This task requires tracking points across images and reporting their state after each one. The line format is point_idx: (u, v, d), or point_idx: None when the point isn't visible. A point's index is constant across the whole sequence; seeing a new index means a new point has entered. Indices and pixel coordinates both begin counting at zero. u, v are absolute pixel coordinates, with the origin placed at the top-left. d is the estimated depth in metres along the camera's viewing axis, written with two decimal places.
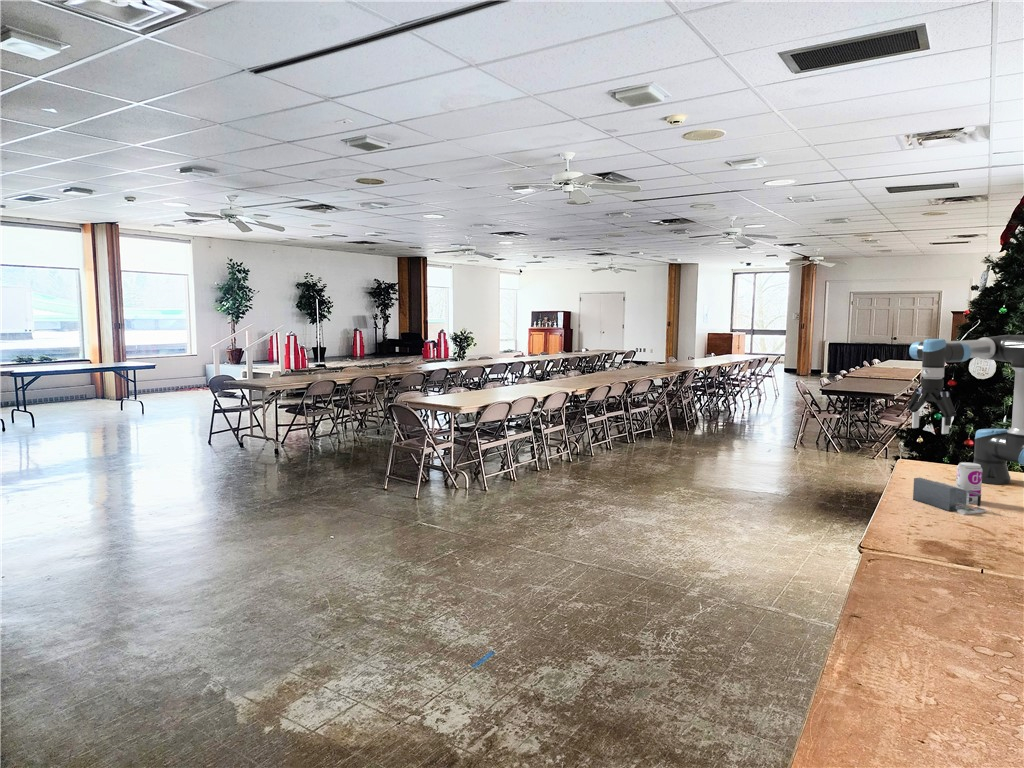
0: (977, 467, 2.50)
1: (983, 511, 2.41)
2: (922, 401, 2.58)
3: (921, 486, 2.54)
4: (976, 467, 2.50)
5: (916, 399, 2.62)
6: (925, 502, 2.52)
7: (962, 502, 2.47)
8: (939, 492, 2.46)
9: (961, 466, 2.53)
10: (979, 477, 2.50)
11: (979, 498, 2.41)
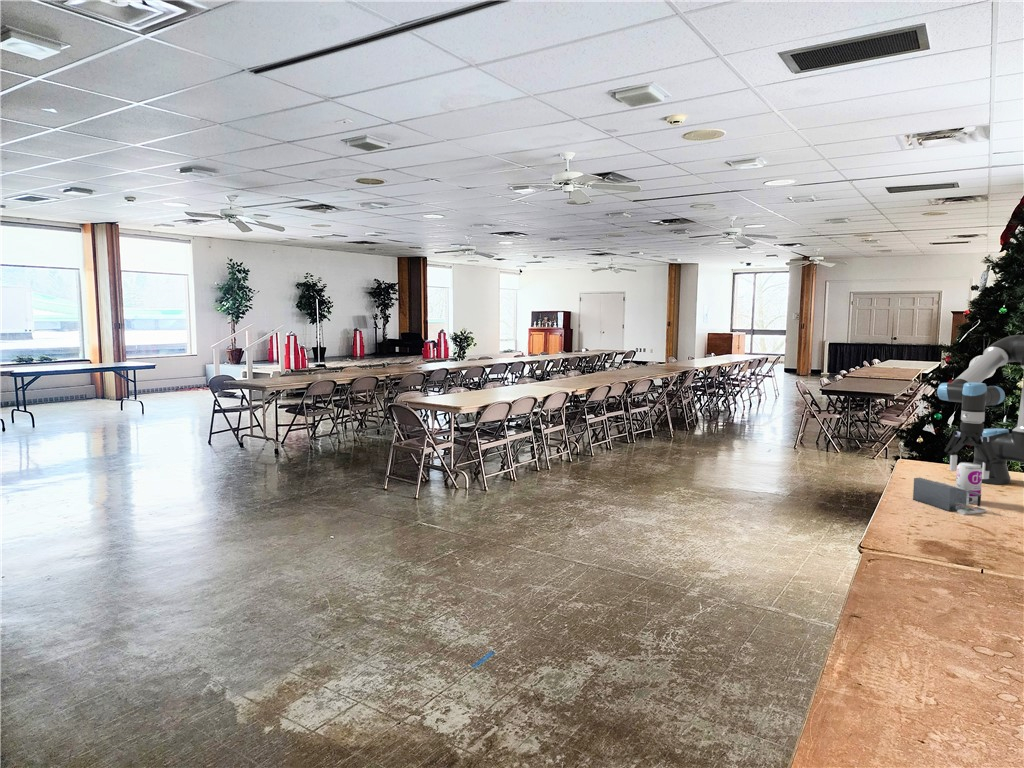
0: (977, 467, 2.50)
1: (983, 511, 2.41)
2: (961, 444, 2.56)
3: (921, 486, 2.54)
4: (976, 467, 2.50)
5: (954, 442, 2.59)
6: (925, 502, 2.52)
7: (962, 502, 2.47)
8: (939, 492, 2.46)
9: (961, 466, 2.53)
10: (979, 477, 2.50)
11: (979, 498, 2.41)
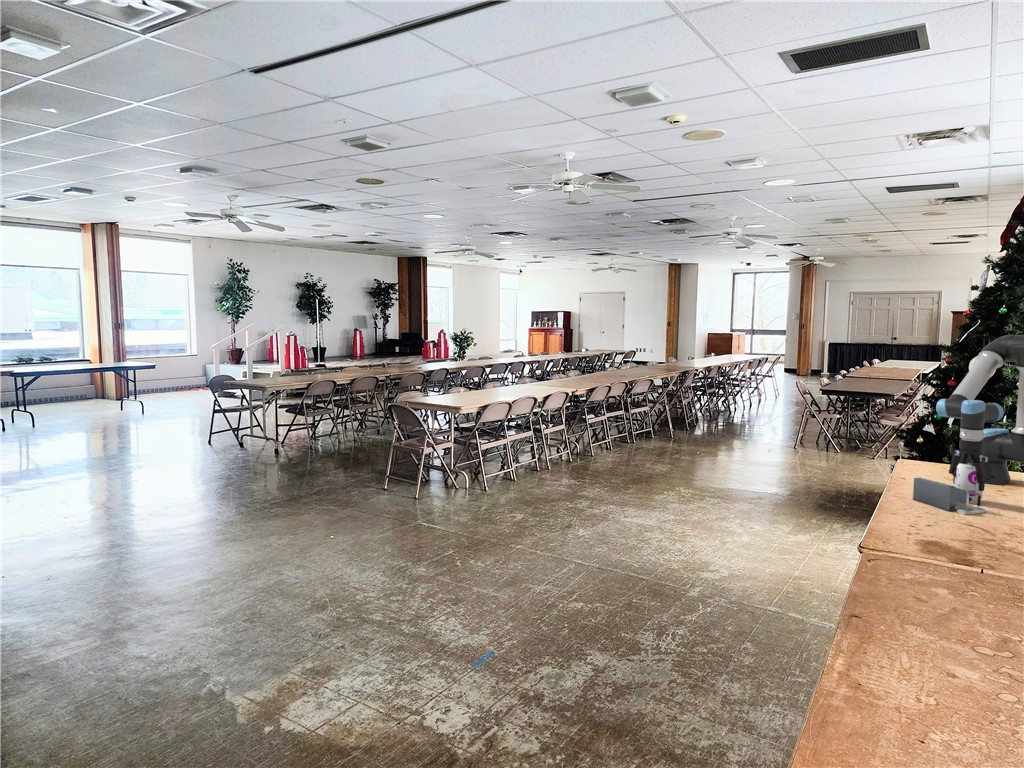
0: None
1: (983, 511, 2.41)
2: (962, 463, 2.56)
3: (921, 486, 2.54)
4: None
5: (956, 461, 2.59)
6: (925, 502, 2.52)
7: (962, 502, 2.47)
8: (939, 492, 2.46)
9: (961, 466, 2.53)
10: None
11: (979, 498, 2.41)
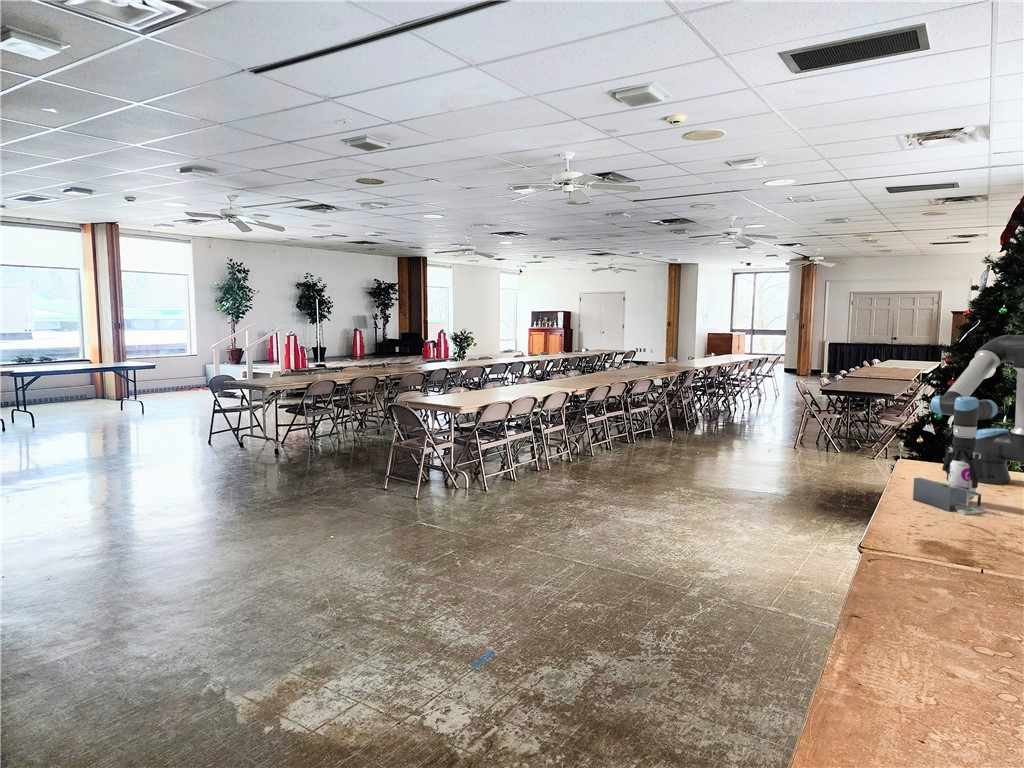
0: None
1: (983, 511, 2.41)
2: (956, 460, 2.54)
3: (921, 486, 2.54)
4: None
5: (950, 458, 2.58)
6: (925, 502, 2.52)
7: (962, 502, 2.47)
8: (939, 492, 2.46)
9: (954, 463, 2.52)
10: None
11: (979, 498, 2.41)
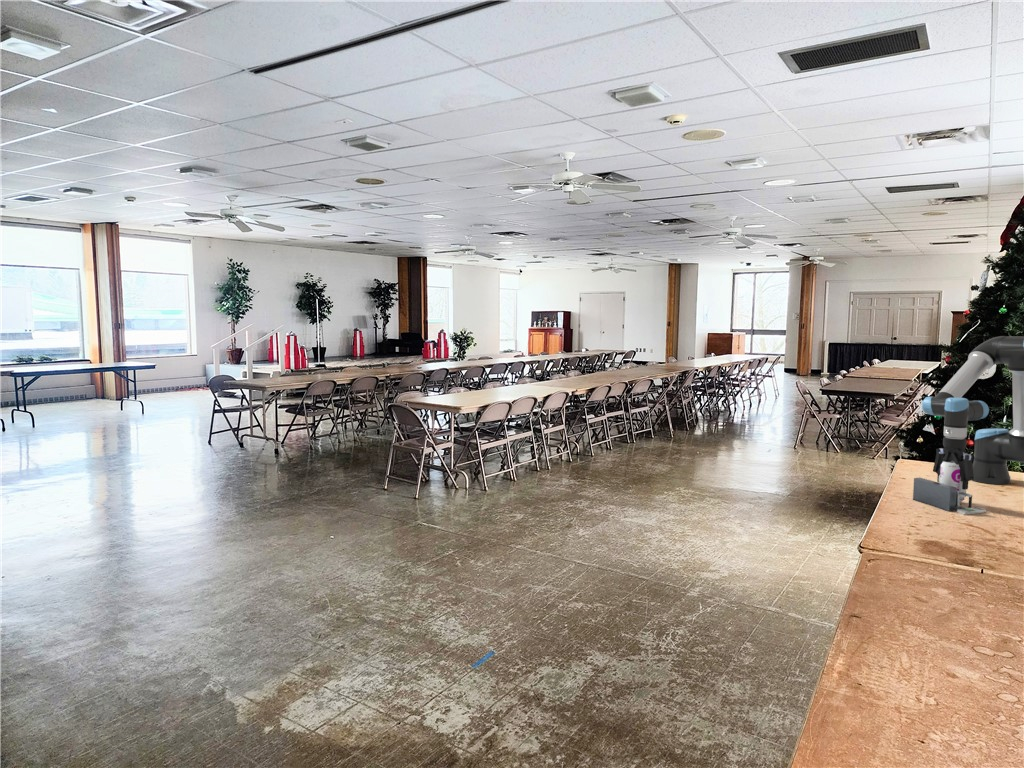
0: None
1: (983, 511, 2.41)
2: (946, 461, 2.53)
3: (921, 486, 2.54)
4: None
5: (940, 460, 2.57)
6: (925, 502, 2.52)
7: None
8: (939, 492, 2.46)
9: (945, 464, 2.51)
10: None
11: (970, 499, 2.40)
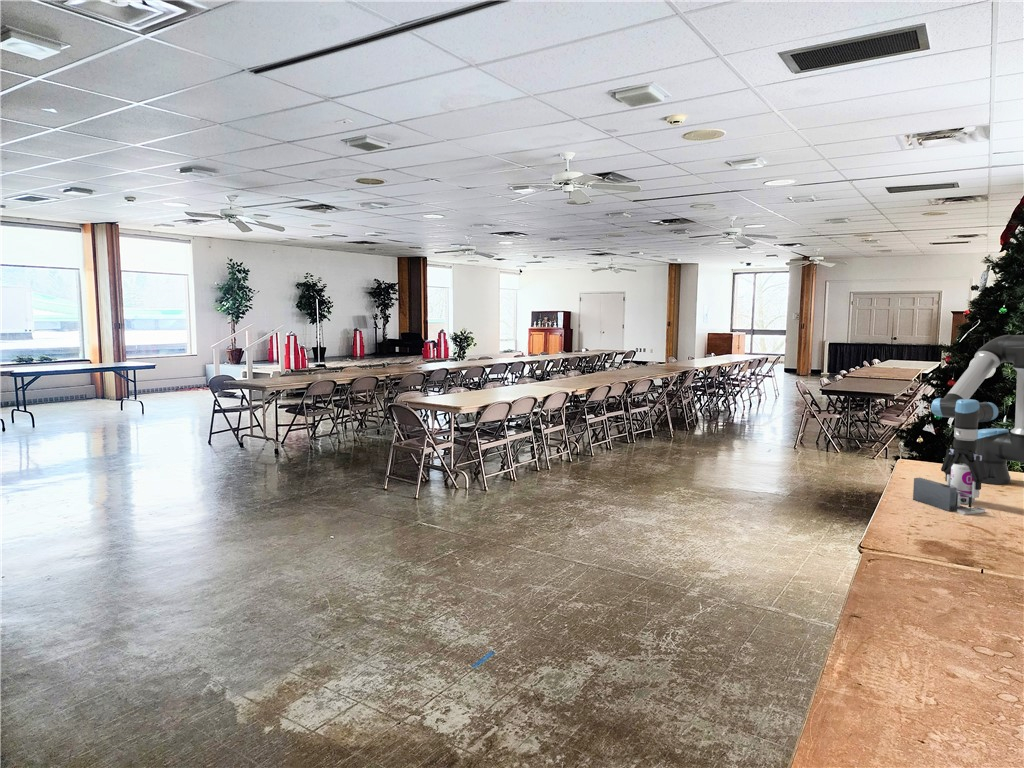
0: None
1: (983, 511, 2.41)
2: (956, 462, 2.55)
3: (921, 486, 2.54)
4: None
5: (949, 460, 2.59)
6: (925, 502, 2.52)
7: None
8: (939, 492, 2.46)
9: (955, 467, 2.52)
10: (973, 478, 2.49)
11: (970, 499, 2.40)
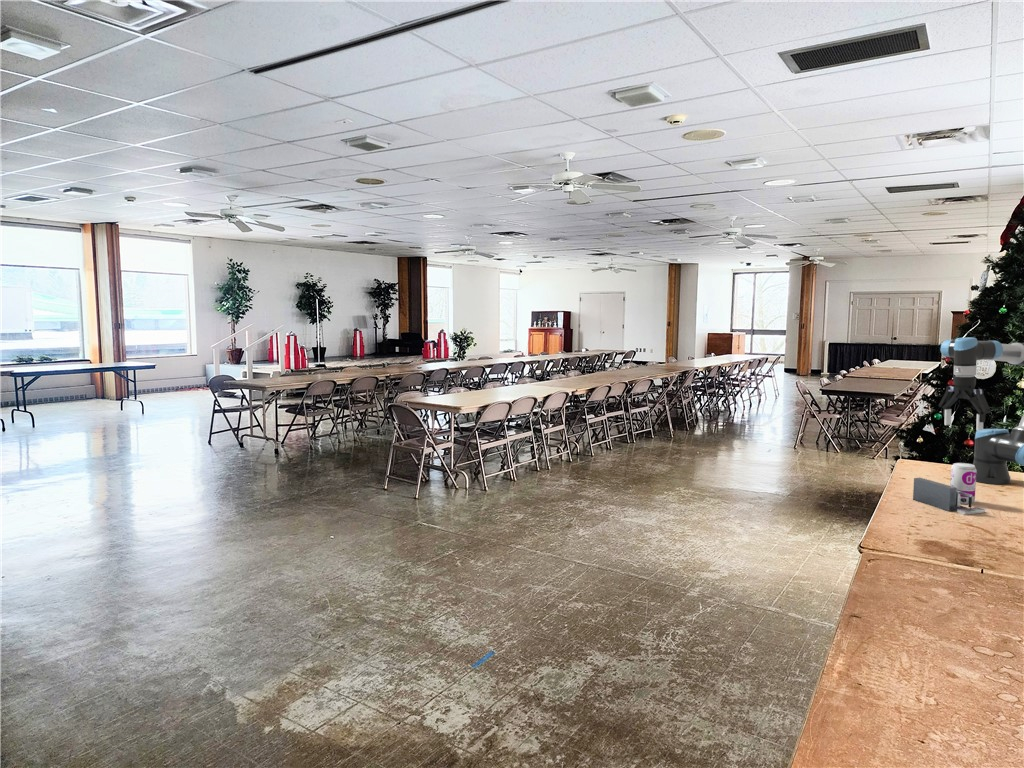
0: (971, 468, 2.49)
1: (983, 511, 2.41)
2: (954, 399, 2.63)
3: (921, 486, 2.54)
4: (970, 468, 2.49)
5: (948, 396, 2.67)
6: (925, 502, 2.52)
7: None
8: (939, 492, 2.46)
9: (955, 467, 2.52)
10: (973, 478, 2.49)
11: (970, 499, 2.40)
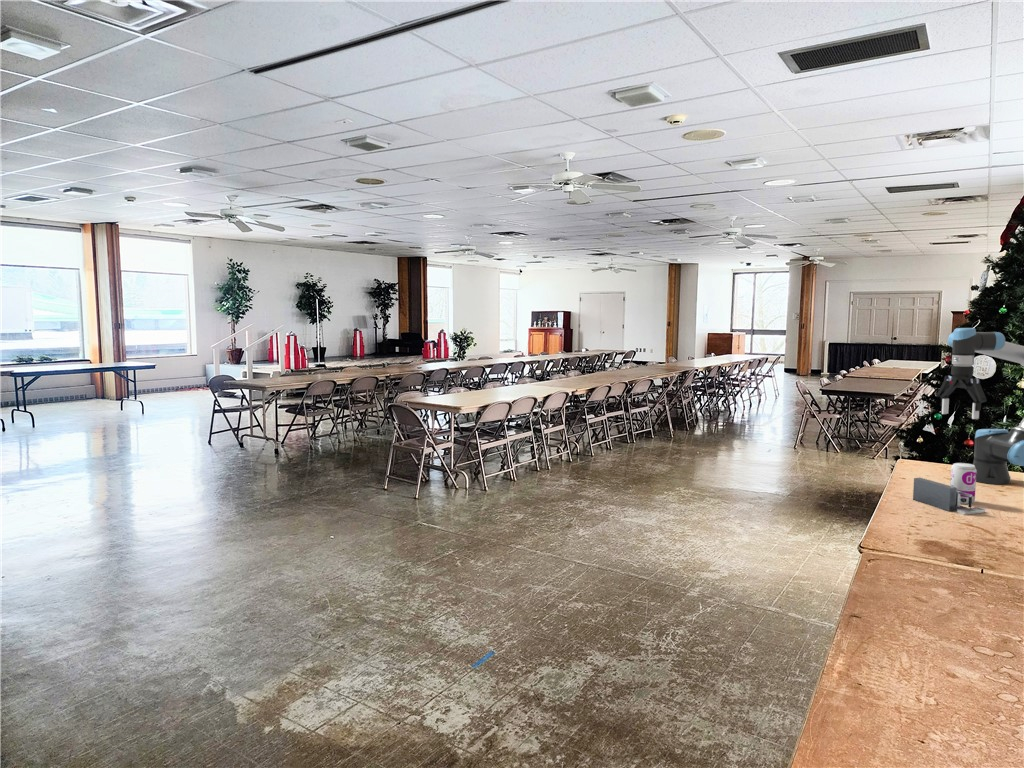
0: (971, 468, 2.49)
1: (983, 511, 2.41)
2: (952, 388, 2.68)
3: (921, 486, 2.54)
4: (970, 468, 2.49)
5: (946, 386, 2.72)
6: (925, 502, 2.52)
7: None
8: (939, 492, 2.46)
9: (955, 467, 2.52)
10: (973, 478, 2.49)
11: (970, 499, 2.40)
